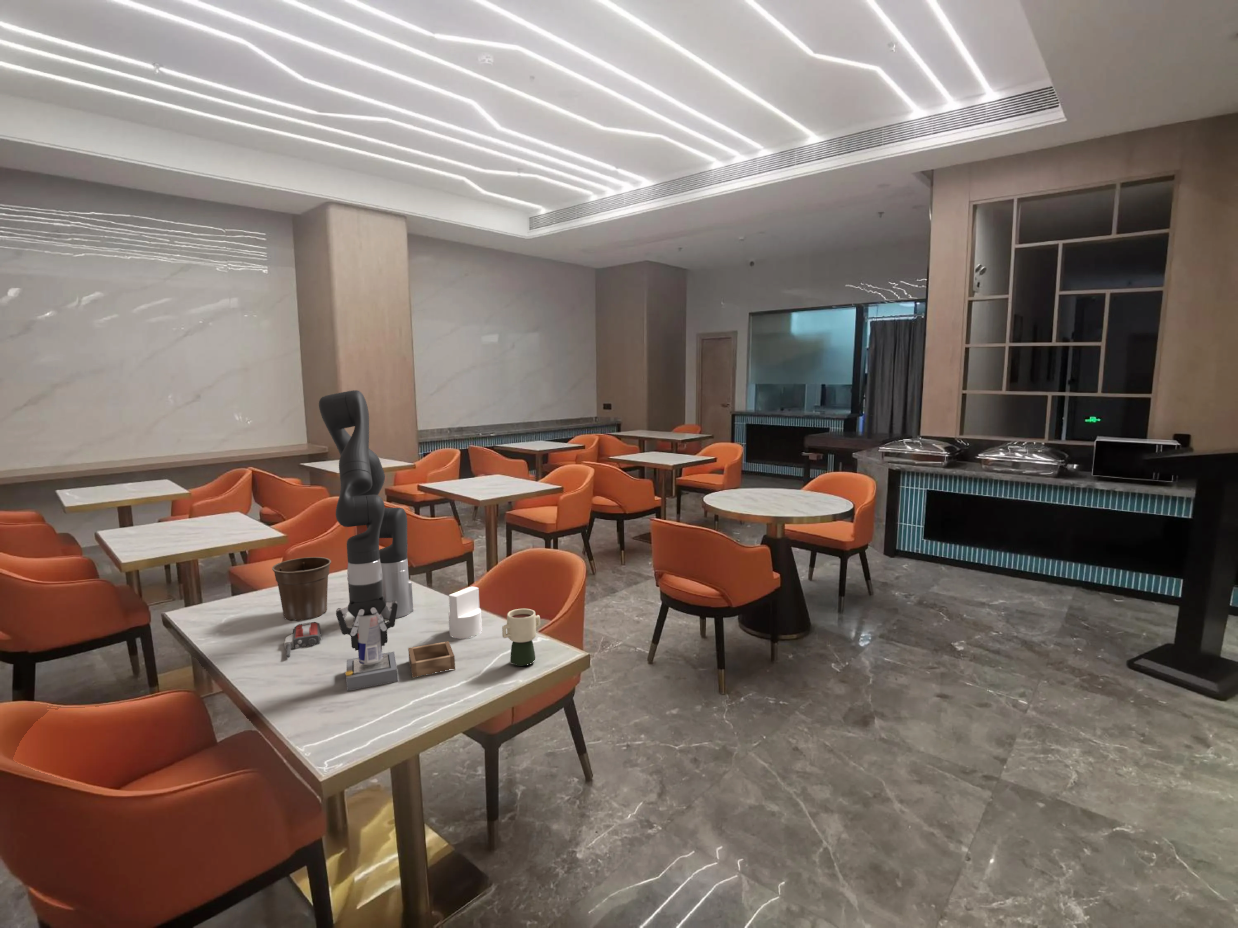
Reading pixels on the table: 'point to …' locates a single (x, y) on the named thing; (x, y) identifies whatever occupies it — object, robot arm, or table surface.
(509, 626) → the character mug
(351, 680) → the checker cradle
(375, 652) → the energy drink
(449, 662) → the walnut holder
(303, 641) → the walkie-talkie
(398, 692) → the table surface
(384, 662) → the pad
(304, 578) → the plant pot
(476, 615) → the base with upright slab
